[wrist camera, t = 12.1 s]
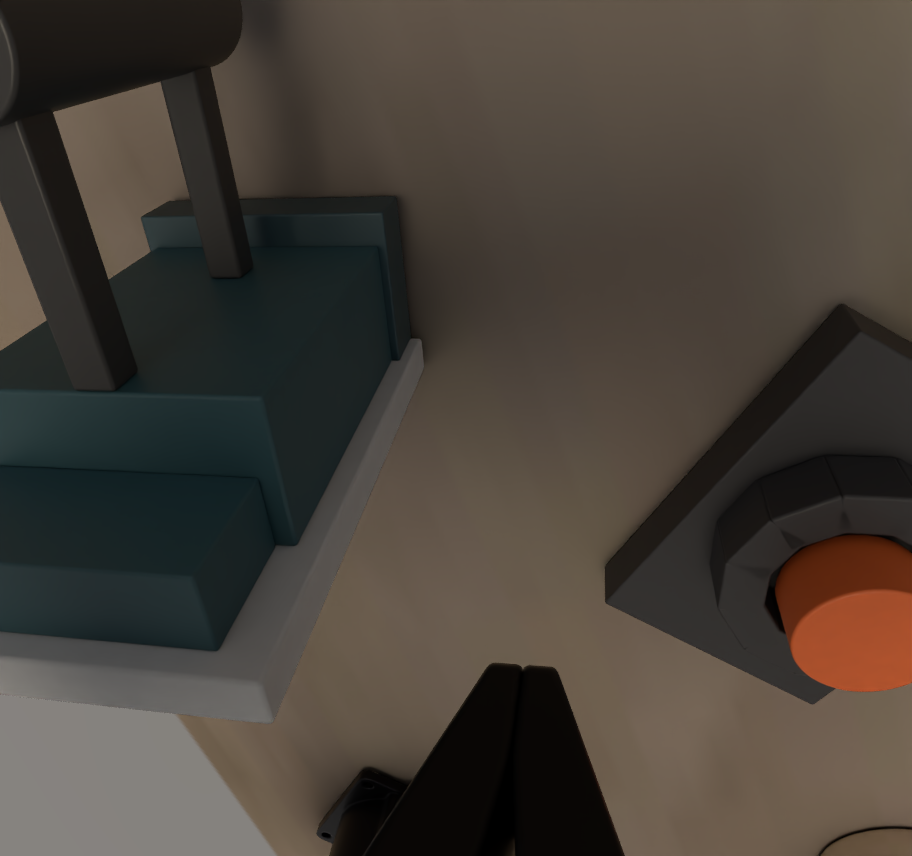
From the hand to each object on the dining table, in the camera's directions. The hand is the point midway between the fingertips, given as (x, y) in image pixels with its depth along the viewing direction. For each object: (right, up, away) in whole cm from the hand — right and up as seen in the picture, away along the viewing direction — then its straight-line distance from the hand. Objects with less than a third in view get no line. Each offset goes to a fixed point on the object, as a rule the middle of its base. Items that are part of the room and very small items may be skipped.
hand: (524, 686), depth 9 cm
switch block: (+10, +1, +13) cm, 16 cm away
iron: (-6, +2, +8) cm, 10 cm away
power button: (+10, -1, +10) cm, 14 cm away
